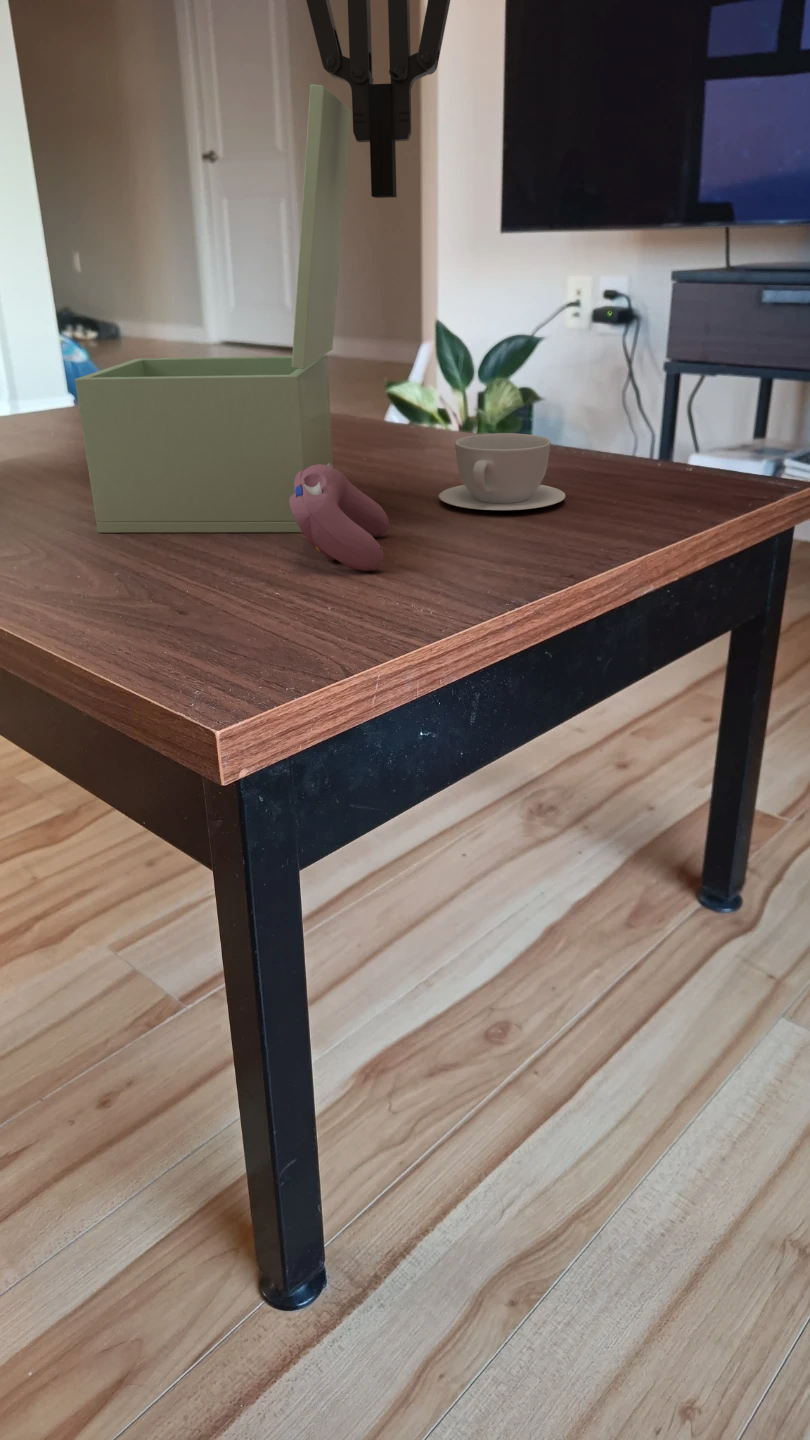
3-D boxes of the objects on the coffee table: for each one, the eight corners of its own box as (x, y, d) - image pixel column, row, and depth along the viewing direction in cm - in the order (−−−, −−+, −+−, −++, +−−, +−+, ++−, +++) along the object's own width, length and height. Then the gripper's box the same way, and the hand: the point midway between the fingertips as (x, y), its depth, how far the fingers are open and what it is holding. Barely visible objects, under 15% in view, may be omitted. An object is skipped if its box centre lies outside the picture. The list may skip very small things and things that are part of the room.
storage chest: (97, 532, 75) (74, 378, 71) (153, 491, 88) (136, 358, 83) (307, 532, 74) (298, 375, 70) (334, 491, 86) (327, 355, 82)
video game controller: (339, 555, 74) (289, 468, 71) (395, 526, 73) (346, 437, 70) (325, 598, 65) (268, 501, 63) (388, 566, 64) (333, 465, 62)
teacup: (468, 484, 88) (468, 427, 86) (581, 493, 84) (584, 434, 82) (417, 510, 80) (416, 448, 78) (540, 521, 75) (542, 456, 74)
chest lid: (310, 84, 62) (324, 85, 62) (340, 109, 75) (351, 111, 75) (291, 367, 69) (303, 369, 69) (321, 348, 82) (332, 349, 82)
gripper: (250, -273, 58) (280, 197, 68) (482, -288, 57) (478, 192, 67) (275, -219, 65) (299, 201, 75) (483, -231, 64) (479, 196, 74)
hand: (384, 196), depth 71 cm, fingers closed
